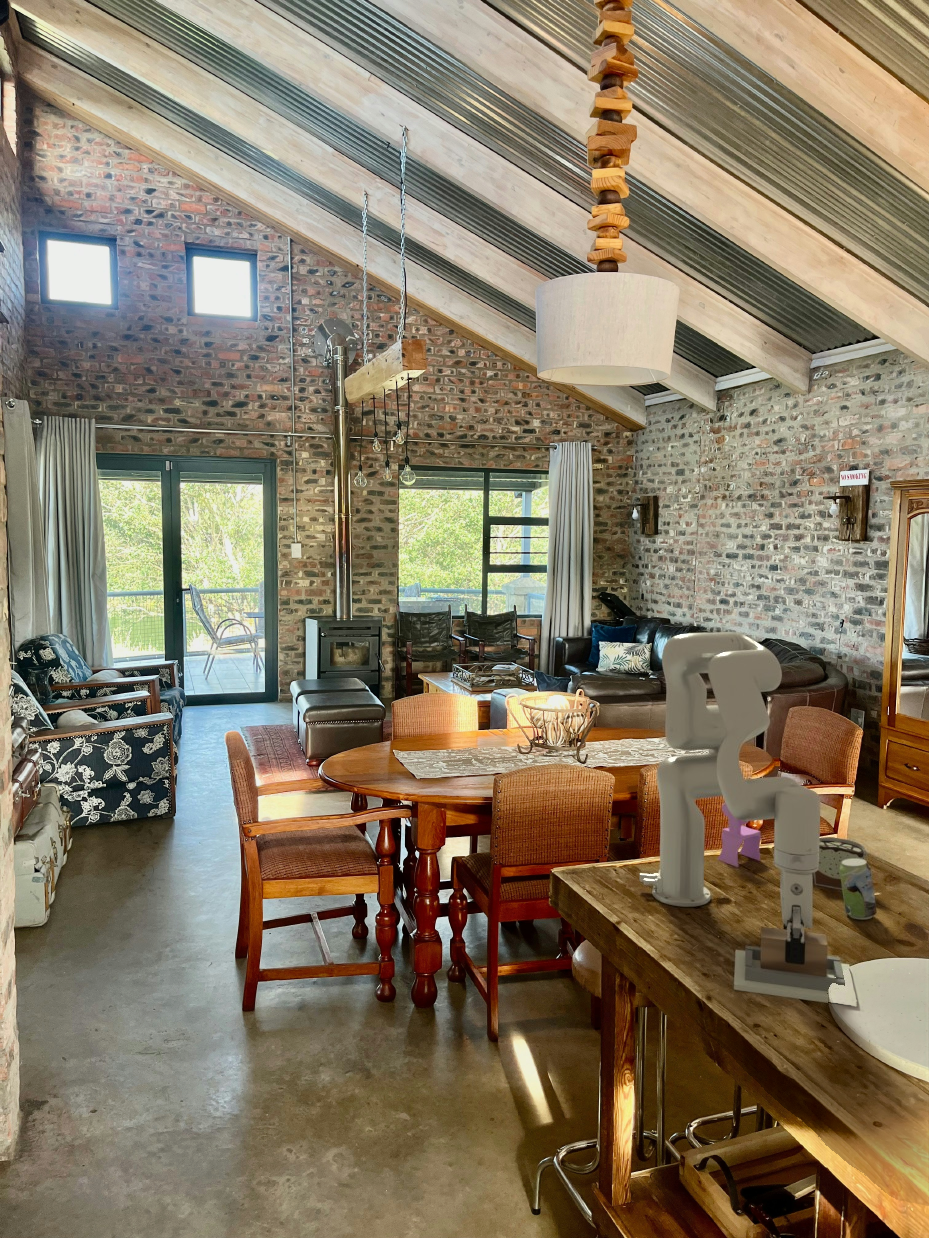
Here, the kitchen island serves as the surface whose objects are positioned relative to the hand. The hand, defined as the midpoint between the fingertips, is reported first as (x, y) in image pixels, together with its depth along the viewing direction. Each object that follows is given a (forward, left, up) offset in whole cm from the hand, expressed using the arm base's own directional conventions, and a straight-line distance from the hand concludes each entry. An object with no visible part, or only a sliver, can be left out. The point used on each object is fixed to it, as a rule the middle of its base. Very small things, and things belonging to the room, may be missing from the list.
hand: (793, 950), depth 162 cm
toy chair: (-10, +61, -6) cm, 62 cm away
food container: (+12, +51, -6) cm, 53 cm away
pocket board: (0, 0, -5) cm, 5 cm away
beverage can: (+14, +33, -6) cm, 36 cm away
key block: (0, 0, -4) cm, 4 cm away
